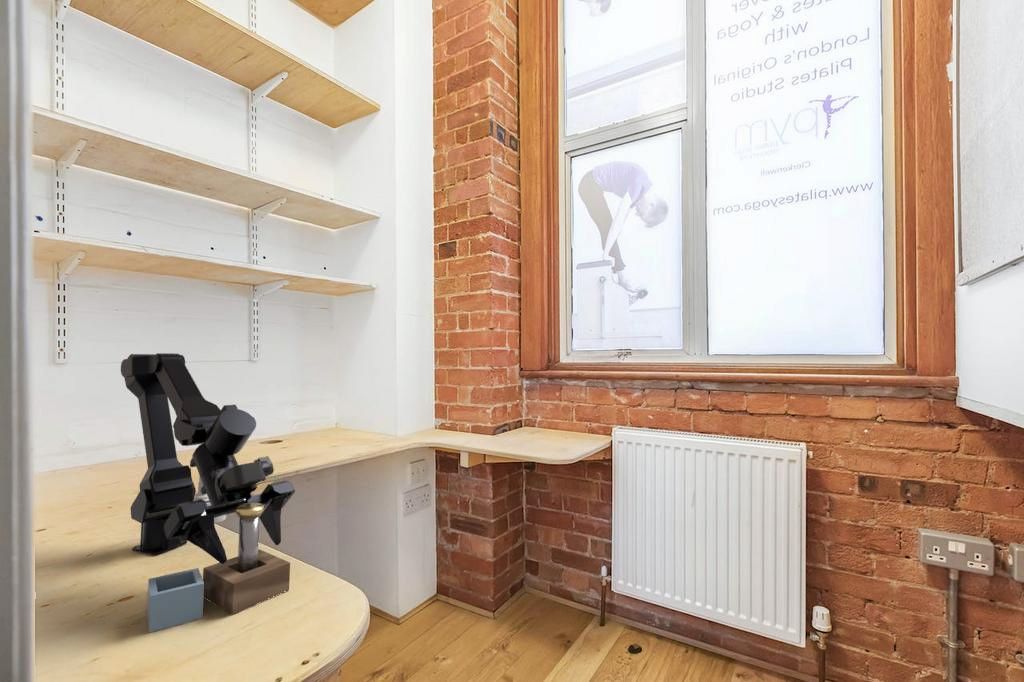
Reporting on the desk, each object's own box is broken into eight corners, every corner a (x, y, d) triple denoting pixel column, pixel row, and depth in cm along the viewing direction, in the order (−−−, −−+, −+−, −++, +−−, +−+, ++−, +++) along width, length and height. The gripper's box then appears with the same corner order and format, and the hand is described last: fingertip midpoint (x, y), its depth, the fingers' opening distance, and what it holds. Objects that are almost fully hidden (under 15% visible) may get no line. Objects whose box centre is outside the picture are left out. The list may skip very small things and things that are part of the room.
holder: (146, 613, 71) (148, 578, 71) (196, 600, 75) (198, 567, 75) (149, 633, 66) (150, 596, 66) (202, 618, 70) (204, 583, 70)
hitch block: (202, 596, 76) (203, 567, 76) (258, 575, 83) (259, 549, 83) (232, 614, 71) (233, 584, 71) (289, 590, 79) (290, 562, 79)
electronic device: (204, 483, 106) (188, 468, 116) (201, 528, 106) (186, 508, 116) (231, 479, 109) (213, 465, 120) (228, 522, 109) (211, 504, 120)
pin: (225, 597, 76) (229, 509, 76) (246, 585, 80) (250, 501, 80) (246, 601, 75) (250, 512, 75) (266, 589, 78) (269, 504, 79)
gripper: (176, 451, 72) (210, 543, 66) (291, 435, 88) (327, 508, 82) (150, 495, 76) (180, 585, 70) (264, 472, 92) (297, 544, 86)
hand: (253, 552), depth 77 cm, fingers open, 8 cm apart
